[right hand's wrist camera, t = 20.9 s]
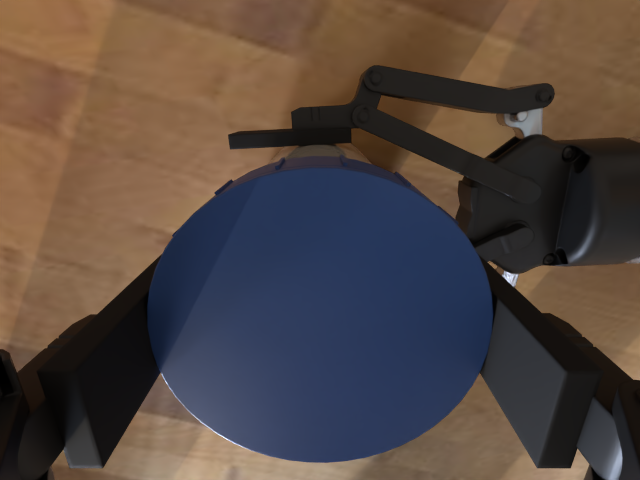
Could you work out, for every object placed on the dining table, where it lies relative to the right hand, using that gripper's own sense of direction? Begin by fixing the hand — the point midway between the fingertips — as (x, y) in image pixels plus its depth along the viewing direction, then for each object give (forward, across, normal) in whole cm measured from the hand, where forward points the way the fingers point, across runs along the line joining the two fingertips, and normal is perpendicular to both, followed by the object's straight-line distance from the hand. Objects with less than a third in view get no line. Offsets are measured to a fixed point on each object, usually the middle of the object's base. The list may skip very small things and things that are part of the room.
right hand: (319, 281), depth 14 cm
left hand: (+9, -5, 0) cm, 10 cm away
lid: (-3, 0, 0) cm, 3 cm away
